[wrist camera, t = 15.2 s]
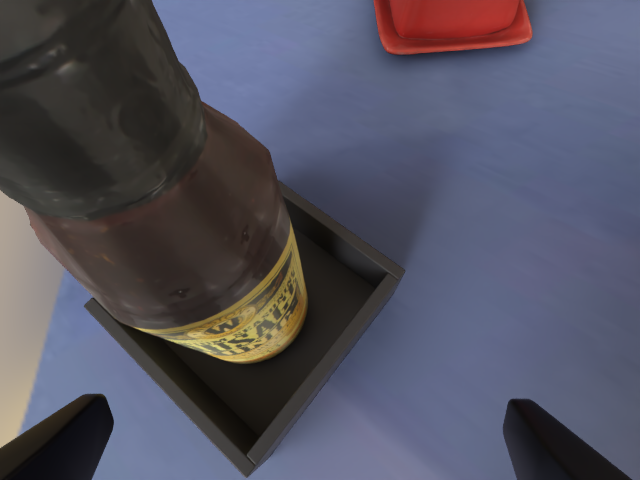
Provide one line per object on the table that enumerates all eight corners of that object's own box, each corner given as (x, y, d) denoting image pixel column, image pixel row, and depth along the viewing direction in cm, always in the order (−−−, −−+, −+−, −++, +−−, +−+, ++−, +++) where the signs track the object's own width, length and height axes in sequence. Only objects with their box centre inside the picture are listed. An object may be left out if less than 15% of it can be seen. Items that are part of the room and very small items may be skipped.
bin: (267, 459, 19) (245, 479, 15) (131, 321, 22) (82, 306, 18) (394, 293, 22) (406, 270, 18) (258, 192, 25) (240, 152, 21)
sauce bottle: (223, 385, 20) (-1255, 335, 2) (192, 283, 22) (-537, -229, 4) (333, 335, 21) (242, -128, 2) (292, 241, 23) (80, -369, 4)
